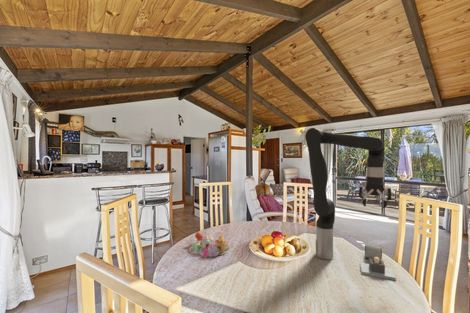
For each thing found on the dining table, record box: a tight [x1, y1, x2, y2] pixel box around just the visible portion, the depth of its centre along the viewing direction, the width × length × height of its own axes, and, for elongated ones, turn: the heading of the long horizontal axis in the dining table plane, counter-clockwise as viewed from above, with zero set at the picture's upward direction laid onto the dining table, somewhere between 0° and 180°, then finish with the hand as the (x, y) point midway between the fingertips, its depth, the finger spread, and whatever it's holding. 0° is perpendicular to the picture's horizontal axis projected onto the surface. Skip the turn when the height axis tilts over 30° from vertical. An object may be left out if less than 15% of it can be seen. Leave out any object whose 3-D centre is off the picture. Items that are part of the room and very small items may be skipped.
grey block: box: [368, 258, 386, 274], centre depth 114 cm, size 6×6×4 cm
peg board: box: [359, 257, 397, 281], centre depth 114 cm, size 14×10×7 cm
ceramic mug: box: [364, 243, 383, 260], centre depth 131 cm, size 11×8×8 cm
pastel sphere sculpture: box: [188, 231, 229, 258], centre depth 142 cm, size 25×24×9 cm
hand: (374, 207), depth 117 cm, fingers open, 8 cm apart
